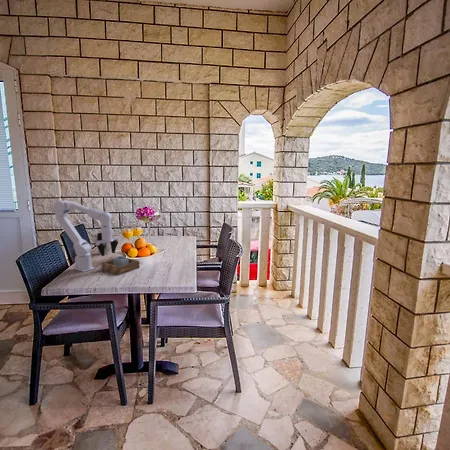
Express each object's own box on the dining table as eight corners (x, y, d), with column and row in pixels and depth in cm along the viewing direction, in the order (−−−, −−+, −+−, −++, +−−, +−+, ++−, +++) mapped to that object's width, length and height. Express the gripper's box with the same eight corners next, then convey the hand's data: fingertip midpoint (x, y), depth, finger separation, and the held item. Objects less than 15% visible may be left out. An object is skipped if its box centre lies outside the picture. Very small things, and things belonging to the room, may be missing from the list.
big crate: (102, 270, 179) (101, 262, 178) (122, 263, 191) (121, 257, 190) (119, 274, 170) (119, 267, 170) (139, 267, 183) (139, 260, 182)
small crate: (113, 267, 180) (112, 258, 179) (120, 265, 185) (119, 256, 184) (122, 269, 176) (121, 260, 175) (128, 267, 181) (128, 258, 180)
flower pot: (120, 262, 195) (119, 249, 193) (121, 258, 204) (120, 246, 202) (135, 261, 197) (134, 248, 196) (135, 257, 206) (135, 245, 205)
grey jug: (103, 251, 221) (102, 231, 219) (119, 253, 217) (117, 233, 214) (94, 254, 213) (93, 234, 210) (110, 256, 208) (109, 235, 206)
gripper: (100, 235, 168) (102, 258, 171) (121, 231, 181) (122, 252, 183) (92, 234, 172) (94, 256, 174) (113, 230, 184) (114, 250, 187)
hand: (108, 254), depth 179 cm, fingers open, 7 cm apart
